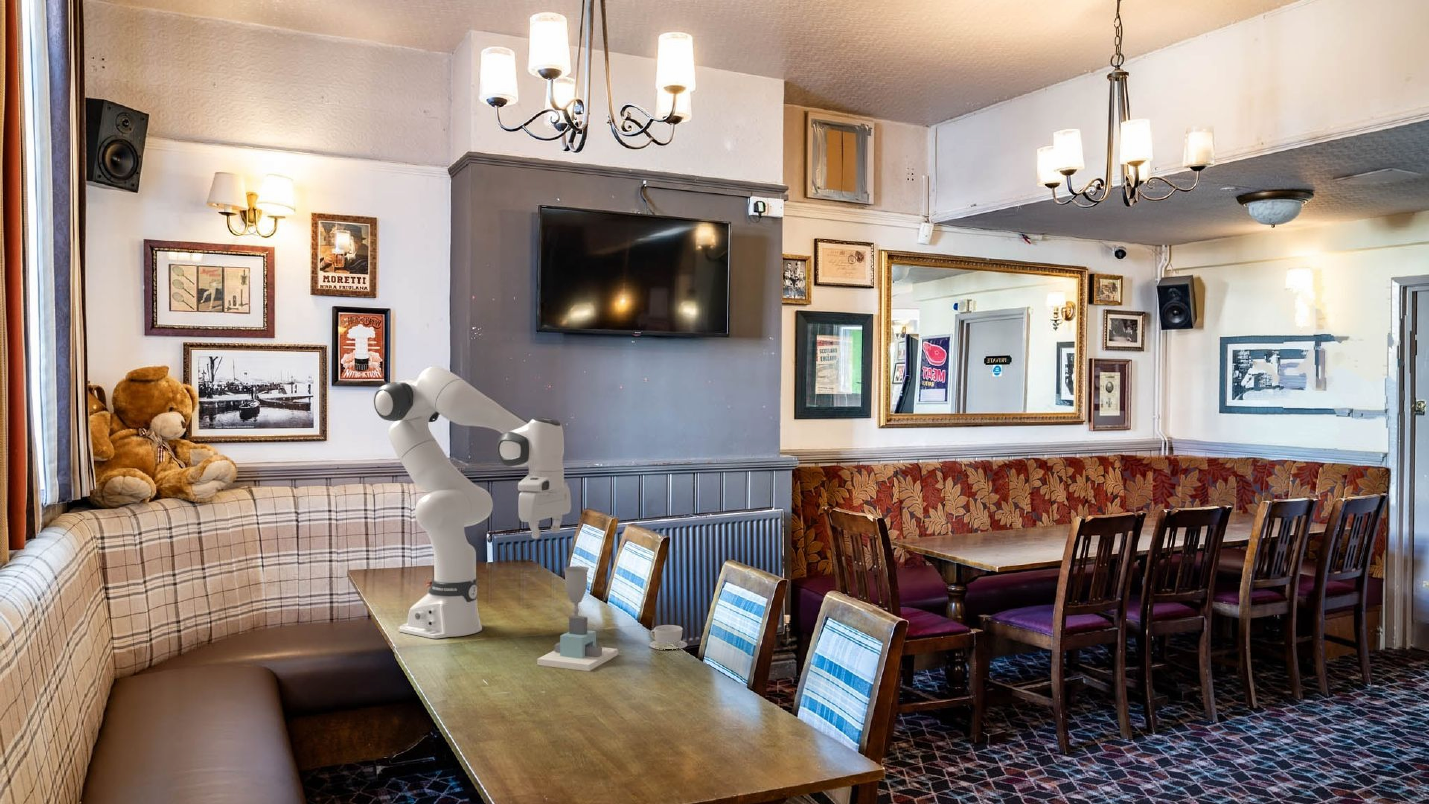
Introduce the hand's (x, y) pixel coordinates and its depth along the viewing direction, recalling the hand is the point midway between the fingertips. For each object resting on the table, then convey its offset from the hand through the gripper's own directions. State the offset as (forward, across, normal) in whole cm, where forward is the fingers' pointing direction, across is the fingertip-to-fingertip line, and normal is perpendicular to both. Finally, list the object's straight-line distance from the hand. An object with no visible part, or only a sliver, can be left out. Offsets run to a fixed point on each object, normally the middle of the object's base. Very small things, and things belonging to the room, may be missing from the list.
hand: (545, 535), depth 249 cm
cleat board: (+29, +6, +13) cm, 32 cm away
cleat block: (+27, +6, +13) cm, 31 cm away
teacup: (+29, -14, +28) cm, 43 cm away
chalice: (+29, -14, +1) cm, 32 cm away
